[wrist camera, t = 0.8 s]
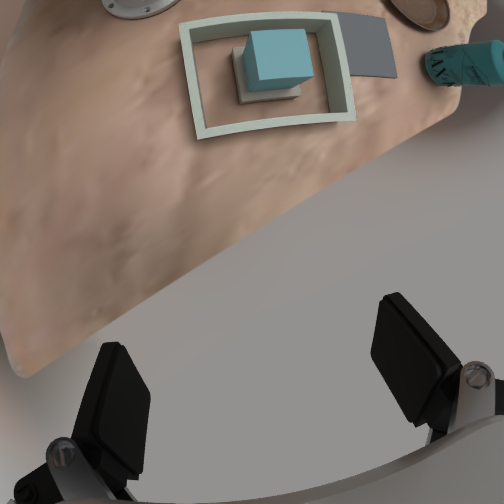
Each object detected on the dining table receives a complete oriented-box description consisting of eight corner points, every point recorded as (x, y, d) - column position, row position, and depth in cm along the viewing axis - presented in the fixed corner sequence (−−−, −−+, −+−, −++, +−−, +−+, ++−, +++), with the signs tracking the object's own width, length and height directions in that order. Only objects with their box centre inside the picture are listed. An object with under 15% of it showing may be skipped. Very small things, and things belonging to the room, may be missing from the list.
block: (242, 53, 27) (250, 31, 20) (285, 50, 27) (304, 29, 20) (249, 92, 29) (259, 80, 22) (292, 88, 29) (314, 76, 22)
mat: (321, 12, 27) (322, 10, 27) (382, 19, 28) (384, 18, 27) (334, 75, 31) (336, 74, 31) (395, 78, 32) (397, 77, 31)
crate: (183, 38, 28) (178, 23, 23) (321, 26, 28) (336, 13, 23) (200, 138, 33) (197, 139, 28) (337, 121, 34) (356, 120, 29)
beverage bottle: (420, 43, 29) (515, 25, 11) (448, 63, 31) (541, 58, 13) (415, 75, 32) (518, 67, 14) (443, 95, 33) (542, 100, 15)
